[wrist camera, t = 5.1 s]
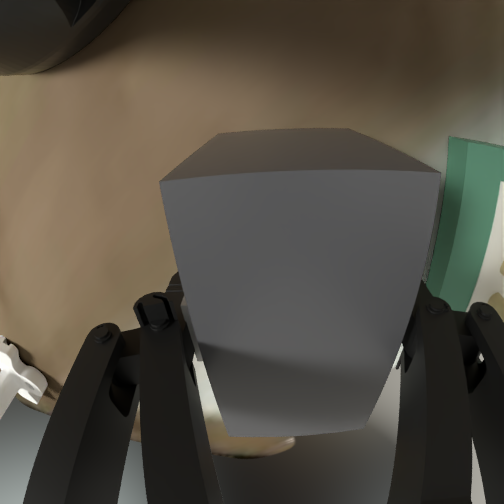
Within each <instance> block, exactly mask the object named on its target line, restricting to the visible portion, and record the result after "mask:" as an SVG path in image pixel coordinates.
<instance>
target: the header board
mask: <svg viewBox="0 0 504 504" xmlns="http://www.w3.org/2000/svg"><path fill="white" fill-rule="evenodd" d="M426 286H427V288H428V289H429V291H430V293H431V294H432V296H434V297H439V298H441V299H443V300H445V301H446V302H447V303H448V304H449V305H450V307H451V309H452V310H454V311H462V312H468V311H469V309H470V306H471V305H472V304H473V303H475V302H484V303H487V304H489V305H490V306H492V307H493V308H494V309H495V310H496V311H497V313H498V314H499V316H500V317H501V319H502V320H503V322H504V146H500V145H495V144H490V143H485V142H480V141H475V140H469V139H464V138H458V137H451V136H449V145H448V160H447V172H446V181H445V190H444V198H443V205H442V211H441V217H440V223H439V229H438V234H437V239H436V244H435V249H434V254H433V258H432V262H431V267H430V271H429V275H428V279H427V282H426Z"/></svg>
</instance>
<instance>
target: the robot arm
mask: <svg viewBox="0 0 504 504" xmlns="http://www.w3.org/2000/svg"><path fill="white" fill-rule="evenodd" d="M129 2H130V0H0V75H2V76H9V75H26V74H34V73H38V72H42V71H44V70H47V69H49V68H52V67H54V66H56V65H58V64H60V63H61V62H63V61H65V60H66V59H68V58H70V57H71V56H73V55H74V54H75V53H77V52H78V51H80V50H81V49H82V48H83V47H85V46H86V45H87V44H88V43H90V42H91V41H92V40H93V39H94V38H95V37H97V36H98V35H99V34H100V33H101V32H102V31H103V30H104V29H105V28H106V27H107V26H108V25H109V24H110V23H111V22H112V21H113V20H114V19H115V18H116V17H117V16H118V15H119V13H120V12H121V11H122V10H123V9H124V8H125V6H126V5H127V4H128V3H129ZM133 309H134V312H135V314H136V316H137V319H138V321H139V324H140V326H141V327H140V328H137V329H133V330H128V331H123V332H121V331H120V329H119V327H118V326H117V325H115V324H113V323H103V324H100V325H98V326H96V327H95V328H93V329H92V330H91V331H90V333H89V334H88V335H87V337H86V339H85V341H84V343H83V345H82V347H81V349H80V352H79V354H78V356H77V358H76V360H75V362H74V364H73V366H72V368H71V370H70V373H69V375H68V377H67V379H66V382H65V384H64V386H63V388H62V391H61V393H60V395H59V398H58V400H57V402H56V405H55V407H54V410H53V412H52V415H51V417H50V420H49V423H48V425H47V428H46V431H45V433H44V436H43V439H42V442H41V445H40V447H39V450H38V453H37V457H36V459H35V462H34V466H33V469H32V472H31V476H30V479H29V483H28V486H27V490H26V494H25V498H24V502H23V504H117V503H118V496H119V491H120V486H121V480H122V475H123V470H124V465H125V460H126V456H127V451H128V446H129V442H130V437H131V433H132V429H133V424H134V420H135V416H136V412H137V408H138V404H139V400H140V426H141V443H142V457H143V468H144V478H145V487H146V495H147V501H148V504H224V501H223V497H222V494H221V490H220V486H219V482H218V478H217V474H216V470H215V466H214V462H213V458H212V453H211V449H210V445H209V440H208V436H207V431H206V426H205V421H204V416H203V411H202V406H201V401H200V396H199V390H198V385H197V379H196V373H195V368H194V365H193V362H192V361H193V357H194V352H195V355H196V358H197V361H203V359H202V356H201V352H200V349H199V346H198V342H197V339H196V335H195V332H194V328H193V325H192V321H191V318H190V314H189V311H188V307H187V303H186V299H185V296H184V292H183V288H182V284H181V280H180V276H179V272H177V273H176V274H175V275H174V276H172V278H171V281H170V283H169V286H168V287H167V289H166V292H165V293H162V292H153V293H150V294H147V295H144V296H143V297H141V298H139V300H138V301H137V302H136V303H135V305H134V307H133ZM402 344H403V346H404V348H403V350H402V353H401V355H400V358H399V360H398V363H397V365H396V369H399V366H400V364H401V384H400V385H401V387H400V409H399V424H398V435H397V444H396V453H395V461H394V468H393V475H392V481H391V487H390V492H389V497H388V502H387V504H472V502H471V484H472V439H473V443H474V447H475V450H476V454H477V459H478V463H479V468H480V472H481V476H482V482H483V487H484V494H485V499H486V504H504V322H503V320H502V319H501V317H500V316H499V314H498V313H497V311H496V310H495V309H494V308H493V307H492V306H490V305H489V304H487V303H484V302H475V303H473V304H472V305H471V306H470V309H469V311H468V312H462V311H454V310H452V309H451V307H450V305H449V304H448V303H447V302H446V301H445V300H443V299H441V298H439V297H434V296H432V294H431V293H430V291H429V289H428V288H427V286H426V285H425V283H424V282H423V280H422V279H421V283H420V286H419V290H418V293H417V297H416V300H415V304H414V307H413V310H412V313H411V316H410V319H409V323H408V326H407V328H406V331H405V334H404V337H403V340H402ZM481 353H482V355H483V358H484V360H483V362H481V361H480V359H479V356H480V354H481Z"/></svg>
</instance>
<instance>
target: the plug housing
mask: <svg viewBox="0 0 504 504" xmlns="http://www.w3.org/2000/svg"><path fill="white" fill-rule="evenodd" d="M440 178H441V173H440V172H438V171H437V170H435V169H433V168H431V167H429V166H427V165H426V164H424V163H422V162H420V161H418V160H416V159H414V158H412V157H410V156H408V155H406V154H404V153H402V152H400V151H398V150H396V149H394V148H392V147H390V146H388V145H385V144H383V143H381V142H379V141H377V140H374V139H372V138H370V137H368V136H365V135H363V134H361V133H358V132H356V131H353V130H351V129H343V128H301V129H273V130H256V131H242V132H231V133H221V134H217V135H216V136H215V137H213V138H212V139H211V140H209V141H208V142H207V143H206V144H204V145H203V146H202V147H200V148H199V149H198V150H197V151H195V152H194V153H193V154H192V155H190V156H189V157H188V158H187V159H186V160H184V161H183V162H182V163H181V164H179V165H178V166H177V167H176V168H175V169H173V170H172V171H171V172H170V173H169V174H168V175H166V176H165V177H164V178H163V179H162V180H161V181H159V183H160V189H161V194H162V199H163V204H164V209H165V214H166V219H167V224H168V228H169V233H170V238H171V242H172V247H173V251H174V255H175V259H176V264H177V268H178V272H179V276H180V280H181V284H182V288H183V292H184V296H185V299H186V303H187V307H188V311H189V314H190V318H191V321H192V325H193V328H194V332H195V335H196V339H197V342H198V346H199V349H200V352H201V356H202V359H203V362H204V365H205V368H206V372H207V375H208V378H209V381H210V384H211V387H212V390H213V393H214V396H215V399H216V402H217V405H218V408H219V410H220V413H221V416H222V419H223V422H224V424H225V427H226V430H227V433H228V435H229V436H232V437H282V436H301V435H314V434H325V433H334V432H342V431H350V430H357V429H363V428H364V427H365V425H366V423H367V421H368V419H369V417H370V415H371V413H372V411H373V408H374V407H375V404H376V403H377V400H378V398H379V396H380V394H381V392H382V389H383V387H384V385H385V383H386V380H387V378H388V375H389V373H390V371H391V368H392V366H393V364H394V361H395V359H396V356H397V353H398V351H399V348H400V345H401V343H402V340H403V337H404V334H405V331H406V328H407V326H408V323H409V319H410V316H411V313H412V310H413V307H414V304H415V300H416V297H417V293H418V290H419V286H420V283H421V279H422V275H423V271H424V267H425V263H426V259H427V254H428V250H429V245H430V240H431V236H432V230H433V225H434V219H435V214H436V207H437V201H438V194H439V186H440Z"/></svg>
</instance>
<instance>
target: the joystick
mask: <svg viewBox="0 0 504 504" xmlns="http://www.w3.org/2000/svg"><path fill="white" fill-rule="evenodd" d="M0 368H1V372H0V419H1V417H2V416H3V414H4V412H5V411H6V409H7V408H8V406H9V404H10V403H11V401H12V400H13V398H14V397H15V395H16V393H17V392H18V393H19V394H20V395H21V396H23V397H24V398H26V399H28V400H30V401H32V402H33V403H35V404H38V402H39V400H40V398H41V397H42V395H43V393H44V391H45V389H46V387H47V386H48V384H47V382H46V378H45V377H44V375H43V374H42V373H41V372H40V371H38V370H37V369H36V368H34V367H32V366H26V365H25V364H24V363H23V362H22V361H21V360H20V358H19V354H18V349H17V348H16V347H15V346H14V345H13V344H10V345H7V342H6V337H4V336H2V335H0Z"/></svg>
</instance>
